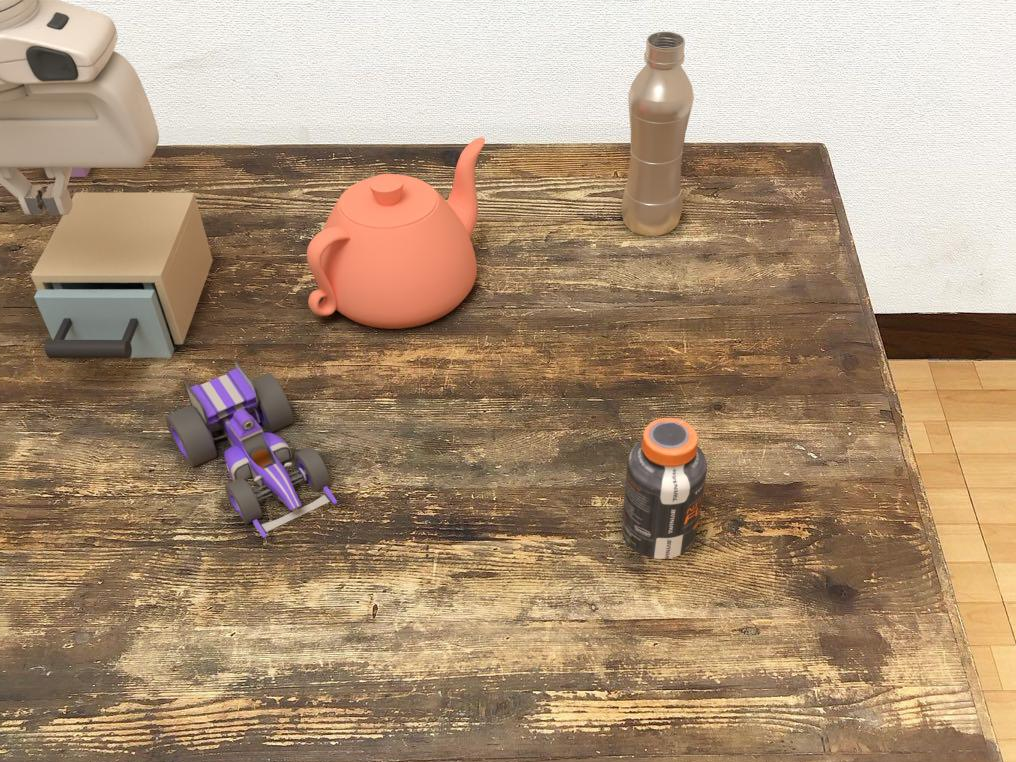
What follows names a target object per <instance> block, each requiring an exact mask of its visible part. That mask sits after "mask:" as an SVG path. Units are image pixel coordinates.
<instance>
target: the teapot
mask: <svg viewBox="0 0 1016 762" xmlns="http://www.w3.org/2000/svg"><path fill="white" fill-rule="evenodd" d="M485 143H486V138H485V137H483V136H481V137H476V138H475V139H473V140H472V141H471V142H469V143H468V144H467V145H466V146H465V148H464V149H463V150H462V152H461V153H460V155H459V157H458V160H457V162H456V163H457V164H456V166H455V167H456V168H455V172H454V177H453V183H452V187H451V191H450V194H449V197H448V198H447V200H446V199H445V198H444V197H443V196H442V195H441V194H440V193H439V192H438V191H437V190H436V189H435V188H434V187H433V186H432V185H431V184H429V183H428V182H426V181H424V180H422V179H420V178H417V177H414V176H411V175H403V174H395V173H381V174H378V175H375V176H372V177H368V178H365V179H362V180H360V181H357V182H355V183H354V184H353V185H351V186H350V187H348V188H347V189H346V190H345V191H344V192H343V193H342V194H341V195H340V196H339V198H338V199H337V201H336V202H335V204H334V206H333V208H332V209H331V211H330V213H329V216H328V217H327V219H326V221H325V224H324V226H323V229H321V231H319V232H318V233H317V234H315V235H314V236H313V238H312V239H311V240H310V242H309V243H308V245H307V248H306V249H307V250H306V262H307V265H308V267H309V270H310V272H311V274H312V276H313V279H314V280H315V282H316V284H317V287H318V288H317V289H315V290H313V291H312V292H311V293H310V294H309V296H308V300H307V301H308V308H309V309H310V311H311V312H312V313H313V314H314V315H316V316H319V317H328V316H331V315H333V314H334V313H335V312H338V313H340V314H341V315H343V316H344V317H346V318H347V319H349V320H351V321H353V322H355V323H357V324H360V325H364V326H367V327H371V328H375V329H385V330H386V329H387V330H397V329H398V330H400V329H409V328H415V327H419V326H423V325H427V324H429V323H433V322H435V321H437V320H439V319H441V318H443V317H444V316H446V315H448V314H449V313H451V312H452V311H453V310H454V309H456V308H457V307H458V306H459V305H460V304H461V303H462V302H463V301H464V300H465V298H466V297H467V296H468V295H469V293H470V292H471V291H472V288H473V287H474V285H475V282H476V279H477V274H478V265H477V257H476V253H475V249H474V246H473V243H472V240H471V237H472V235H473V233H474V232H475V231H474V230H475V228H476V226H477V222H478V216H479V201H478V193H477V186H476V164H477V161H478V157H479V155H480V154H481V151H482V149H483V147H484V145H485ZM321 299H322V301H321ZM320 301H321V302H320Z"/></svg>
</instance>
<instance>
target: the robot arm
mask: <svg viewBox="0 0 1016 762" xmlns="http://www.w3.org/2000/svg"><path fill="white" fill-rule="evenodd" d="M118 39H119V38H118V31H117V27H116V24H115V23H114V21H113V19H112V18H110V17H109V16H108V15H106V14H104V13H101V12H99V11H95V10H92V9H88V8H85V7H82V6H78V5H75V4H73V3H68V2H66V1H63V0H0V185H1V186H2V187H4V188H5V189H6V190H7V191H8V192H9V193H10V194H11V195H13V196H14V198H17V200H18V203H19V205H20V208H21V210H22V212H23V214H24V215H26V216H44V215H46V213H47V214H48V215H50V216H52V215H53V216H63V215H69V213H70V211H71V209H72V198H71V194H70V192H69V189H68V186H69V182H70V178H71V177H70V175H71V172H72V168H91V169H94V168H95V169H97V168H98V169H99V168H101V169H102V168H103V169H107V168H109V169H110V168H111V169H124V168H125V169H129V168H130V169H140V168H144V167H146V166H147V164H148V163H149V161H150V160H151V158H152V157H153V155H154V154H155V152H156V149H157V147H158V144H159V141H160V140H159V139H160V132H159V129H158V124H157V121H156V118H155V115H154V112H153V109H152V106H151V104H150V100H149V99H148V96H147V93H146V91H145V89H144V85H143V84H142V81H141V79H140V77H139V74H138V73H137V71H136V70H135V67H133V65H132V64H131V62H130V61H129V60H128V59H127V58H126V57H124V55H122V54H120V53H119V52H117V51H115V49H116V46H117V42H118ZM18 168H22V169H23V168H28V169H29V168H30V169H31V168H34V169H35V168H38V169H39V168H43V170H44V173H45V175H46V177H47V178H48V179H54V183H53V184H51V185H47V187H46V189H45V188H44V185H40V184H39V185H38V184H37V185H36V184H33V183H32V182H30V181H29V179H28V178H27V177H26V176H25V175H24V174H23V173H22V172H21V171H20V170H19V169H18Z"/></svg>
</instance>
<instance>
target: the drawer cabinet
mask: <svg viewBox="0 0 1016 762" xmlns="http://www.w3.org/2000/svg"><path fill="white" fill-rule="evenodd" d="M71 200H72V209H71V211H70V213H69V215H61V218H60V220H59V222H58V223H57V225H56V228H55V229H54V231H53V233H52V235H51V237H50V239H49V240H48V242H47V244H46V246H45V248H44V250H43V251H42V253H41V255H40V257H39V259H38V260H37V263H36V265H35V266H34V268H33V269H32V272H31V273H30V277H31V280H32V282H33V284H34V287H35V289H36V291H37V290H38V289H54V288H53V285H52V283H155V286H156V289H157V292H158V295H159V298H160V301H161V304H162V307H163V310H164V313H165V316H166V319H167V322H168V325H169V328H170V331H171V337H172V341H173V343H174V345H183V344H184V342H185V339H186V337H187V334H188V331H189V329H190V325H191V323H192V320H193V318H194V314H195V312H196V309H197V306H198V303H199V300H200V297H201V295H202V292H203V289H204V286H205V284H206V280H207V278H208V275H209V273H210V270H211V267H212V265H213V261H214V259H213V255H212V252H211V249H210V245H209V241H208V238H207V234H206V231H205V227H204V224H203V220H202V216H201V213H200V208H199V205H198V201H197V198H196V193H195V192H74V194H73V196H72V198H71Z"/></svg>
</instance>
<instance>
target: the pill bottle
mask: <svg viewBox="0 0 1016 762" xmlns="http://www.w3.org/2000/svg"><path fill="white" fill-rule="evenodd" d="M698 444H699V435H698V431H696V429H695V427H694V426H693V425H692V424H690V423H689V422H687V421H685V420H684V419H680V418H675V417H661V418H658V419H655V420H653V421H651V422H650V423H648V424H647V426H646V427H645V428H644V430H643V434H642V439H641V440H640V441H638V442H637V443H636V444H634V446H633V447H632V448H631V450H630V452H629V455H628V458H627V464H626V475H625V485H624V496H623V509H622V519H621V520H622V521H621V535H622V537H623V540H624V542H625V543H626V545H627V546H628V547H629V548H630V549H631V550H633V552H636V553H637V554H638V555H641V556H643V557H647V558H649V559H654V560H655V559H656V560H666V559H667V560H668V559H673V558H676V557H678V556H680V555H683V554H685V553H686V552H687V551H689V550H690V549H691V548H692V546H693V545H694V543H695V541H696V538H697V532H698V527H699V520H700V514H701V508H702V503H703V496H704V489H705V484H706V478H707V472H708V464H707V459H706V456H705V454H704V452H703V451H702V449H701V448H700V447H699V446H698Z"/></svg>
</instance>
